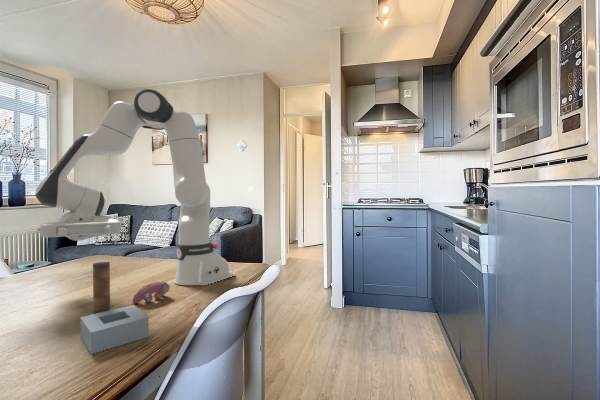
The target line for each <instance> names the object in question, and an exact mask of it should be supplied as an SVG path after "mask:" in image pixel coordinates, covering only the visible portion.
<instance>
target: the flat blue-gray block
mask: <svg viewBox="0 0 600 400" xmlns="http://www.w3.org/2000/svg"><path fill="white" fill-rule="evenodd" d="M149 321H150V320H149V315H147V314H145V313H144V312H143V311H142V310H140V309H139V308H137V306H136V305H134V304H132V305H128V306H124V307H118V308H114V309H110V310H109V311H105V312H101V313H96V314H89V315H83V316H81V317H80V339H81V340H82V342H83V343H84V345H85V347H86V349H87V350H88V352H89V351H90V352H89V354H90V353H91V354H90V355H94V354H93V353H95V354H97V353H96V352H98V353H100V352H99V351H101V352H104V351H107V350H106V349H108V350H111V349H113V347H114V348H117V347H120V346H123V345H126V344H129V343H132V342H137V341H139V340H143V339H146V338H148V337H150V332H149V331H150V330H149V329H150V327H149V323H150V322H149ZM116 346H117V347H116ZM110 348H111V349H110ZM103 350H104V351H103Z"/></svg>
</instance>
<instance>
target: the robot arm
mask: <svg viewBox="0 0 600 400" xmlns="http://www.w3.org/2000/svg"><path fill="white" fill-rule="evenodd" d="M140 128H144V129H148V130H153V131H154V130H156V131H161V130H162V131H163V130H165V133H166V135H167V140H168V145H169V151H170V158H171V161H172V173H173V174H172V175H173V184H174V185H173V186H174V195H175V198H176V200H177V201H178V203H180V209H179V210H180V212H179V220H178V243H177V246H176V248H177V250H176V254H177V255H176V256H177V268H176V273H175V277H174V281H173V283H174V284H175V285H180V286H209V285H212V284H215V283H214V282H216V283H218V282H217V281H219V282H221V281H220V280H222V281H224V280H223V279H226V278H229V277H232V276H235V277H236V273H235V272H234V271H232V270H230V267H229V263H228V260H227V259H225V258H224V257H222V256H220V254H218V252H217V253H216V252H215V250H218V248H219V244H218V243H215V242H214V243H212V242H210V216H211V215H210V214H211V188H210V186H209V184H208V183H207V181H206V180H207V179H206V172H205V166H204V165H205V164H204V156H203V151H202V150H203V149H202V146H201V140H200V135H199V131H198V128H197V125H196V123H195V120H194V117H193V116H192V115H191V114H190V113H188V112H185V111H176V110H174V107H173V106H172V104H171V103H170V101H169V100H167V98H166V97H165V96H164V95H163V94H162V93H160V92H159V91H158V90H154V89H152V88H145V89H142V90H140V91H139V92H138V93H137V94H136V95H135V97H134V99H133V104H131V103H129V102H126V101H121V100H120V101H116V102H115V101H114V103H112V104H111V106H110V107H109V108H108V109H107V110H106V112H105V114H104V115H103V116H102V118H101V121H100V123H99V124H98V126H97V128H96V129H95V130H94V131H93V132H91V133H89V134H82V135H81V136H79V137H77V139H76V140H75V141H74V142H73V144H72V145H71V146H70V147H69V148H68V150H67V151H66V152H65V153H64V155H63V156H62V157H61V158H60V159H59V161H58V162H57V163H56V164H55V166H54V167H53V168H52V170H50V172H49V173H48V175H47V176H46V177H44V178H43V179H42V180H41V181H40V182H39V184H38V185H37V187H36V189H35V194H34V196H35V198H36V199H37V201H38V202H39V203H40V204H41V205H42V206H46V207H51V208H58V209H61V210H66V211H65V212H63V213H61V214H60V215H59V216H58V218H56V222H55V221H54V222H43V223H40V226H38V227H36V230H37V231H39V232H40V234H39V235H40V238H60V237H66V238H68V239H69V240H72V241H77V242H78V241H79V242H80V241H85V240H88V239H92V238H95V237H96V238H97V237H102V236H103V237H104V236H105V237H106V236H110V235H111V234H112V235H113V234H121V233H122V228H123V227H122V226H123V225H122V221H120V220H118V219H116V218H111V216H110V215H101V214H102V212H103V210H104V206H105V202H106V199H105V195H104V194H103V192H102V191H101V189H97V188H95V187H92V186H88V185H86V184H82V183H79V182H76V181H74V180H73V181H72V180H70V179H68V178H67V176H68V175H69V174H70V173H71V171H72V170H73V168H74V167H75V166H76V165H77V163H78V162H79V161H80V160H81V159H82V158H84V157H86V156H92V155H93V156H109V157H111V156H119V155H122V154H124V153H125V152H127V150H129V148H130V146H131V145H132V143H133V140H134V138H135V137H136V134H137V132H138V130H139V129H140ZM232 278H233V277H232ZM229 279H230V278H229ZM226 280H227V279H226ZM211 283H212V284H211ZM208 284H209V285H208Z"/></svg>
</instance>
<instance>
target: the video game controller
mask: <svg viewBox="0 0 600 400" xmlns="http://www.w3.org/2000/svg"><path fill="white" fill-rule="evenodd" d="M170 288H171V286H170V285H169V284H168V283H167V282H166V281H164V280H162V281H161V282H160V281H153V282H150V283H149V284H147V285H144V286H141V287H140V289H138V291H137V292H136V294H134V296H133V297H132V304H139V303H140V302H142V301H144V302H145V303H147V304H149V303H150V302H151V301H152V300H153V299H155V300H160V299H161V298H162V297H163V296H164V295H166V293H168V291H170ZM153 294H154V295H153Z"/></svg>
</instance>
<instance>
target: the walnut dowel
mask: <svg viewBox="0 0 600 400" xmlns="http://www.w3.org/2000/svg"><path fill="white" fill-rule="evenodd" d="M110 263H111V262H110V261H99V262H98V261H97V262H93V263H92V297H93V298H92V299H93V301H92V303H93V304H92V305H93V307H92V308H93V314H96V313H101V312H105V311H109V310H111V281H110V280H111V275H110V274H111V272H110V271H111V270H110V267H111V265H110Z"/></svg>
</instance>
